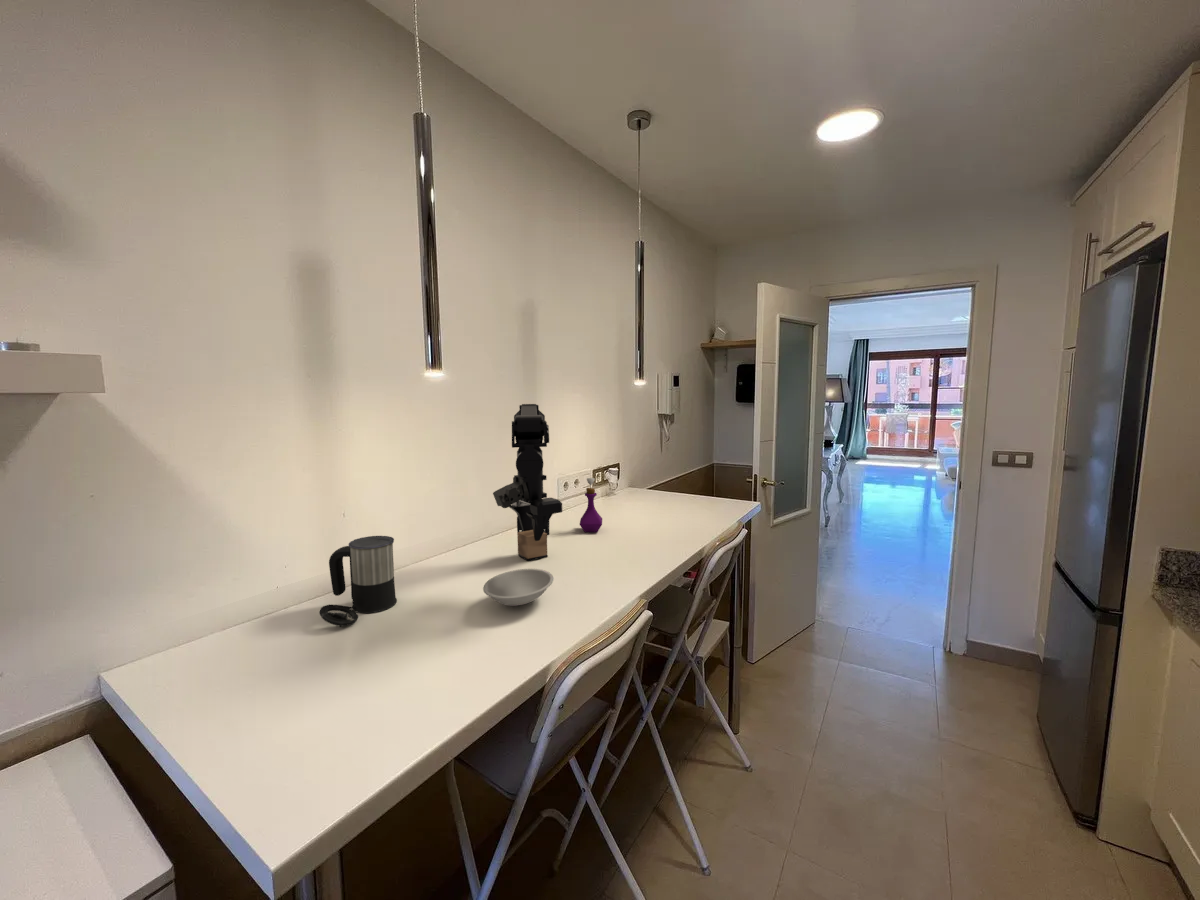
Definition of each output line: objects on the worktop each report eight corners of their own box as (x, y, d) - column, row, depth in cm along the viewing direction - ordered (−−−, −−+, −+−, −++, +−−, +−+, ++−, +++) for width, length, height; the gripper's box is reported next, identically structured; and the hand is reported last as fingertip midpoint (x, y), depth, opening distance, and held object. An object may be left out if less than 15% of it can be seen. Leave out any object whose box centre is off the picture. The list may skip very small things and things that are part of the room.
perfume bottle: (602, 533, 167) (601, 480, 164) (579, 534, 167) (578, 480, 165) (602, 527, 174) (602, 476, 172) (580, 527, 174) (580, 476, 172)
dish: (515, 584, 124) (515, 564, 124) (566, 594, 118) (566, 573, 117) (468, 613, 108) (467, 591, 108) (524, 626, 102) (523, 602, 102)
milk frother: (399, 594, 119) (395, 533, 117) (393, 624, 104) (389, 554, 102) (332, 602, 114) (327, 539, 113) (315, 634, 100) (309, 562, 98)
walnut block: (517, 553, 117) (517, 532, 117) (537, 549, 120) (536, 529, 120) (527, 558, 113) (527, 537, 113) (547, 554, 116) (546, 533, 116)
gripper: (480, 469, 118) (482, 535, 119) (516, 479, 103) (518, 554, 104) (523, 465, 124) (525, 527, 126) (563, 474, 109) (564, 545, 111)
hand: (531, 538), depth 116 cm, fingers closed on walnut block, 5 cm apart
